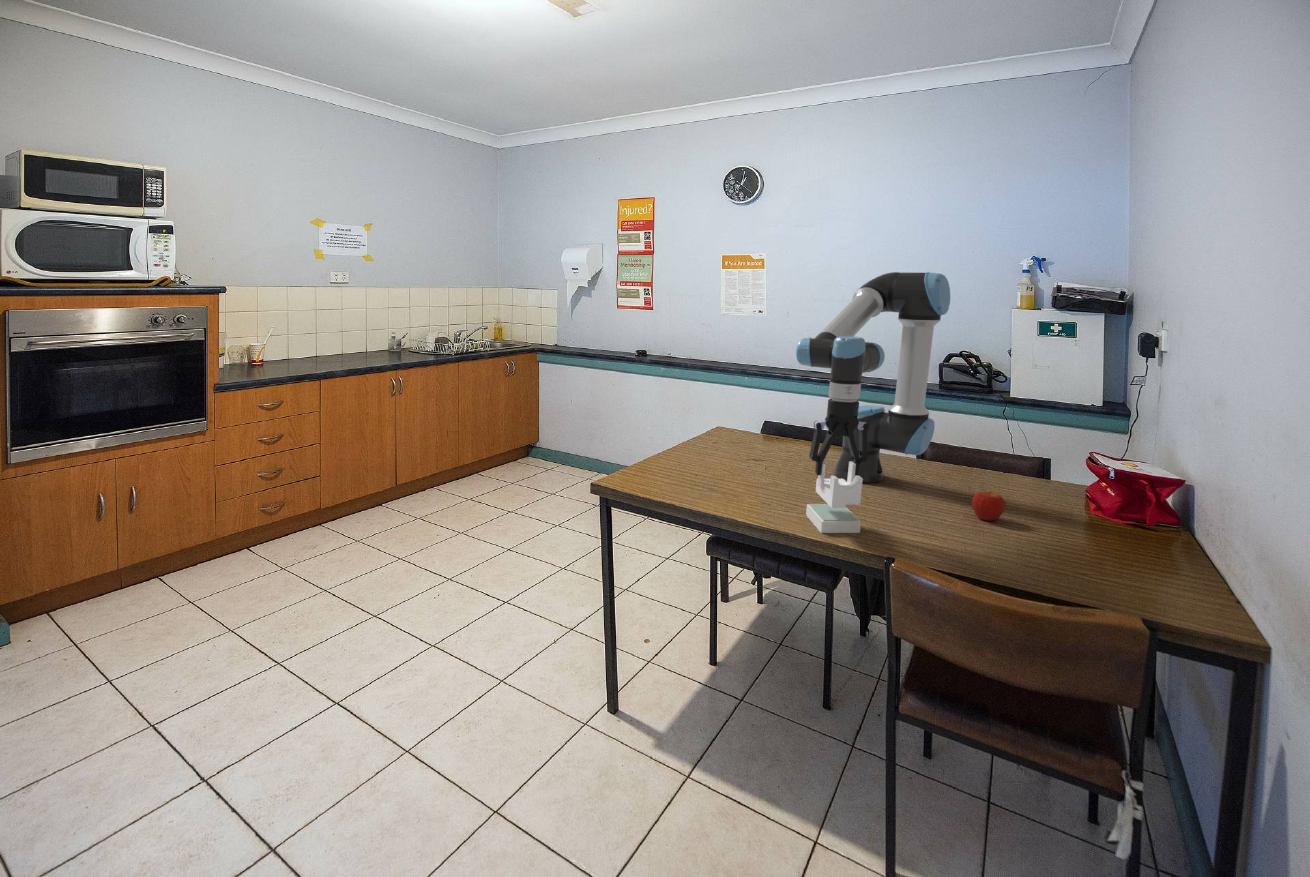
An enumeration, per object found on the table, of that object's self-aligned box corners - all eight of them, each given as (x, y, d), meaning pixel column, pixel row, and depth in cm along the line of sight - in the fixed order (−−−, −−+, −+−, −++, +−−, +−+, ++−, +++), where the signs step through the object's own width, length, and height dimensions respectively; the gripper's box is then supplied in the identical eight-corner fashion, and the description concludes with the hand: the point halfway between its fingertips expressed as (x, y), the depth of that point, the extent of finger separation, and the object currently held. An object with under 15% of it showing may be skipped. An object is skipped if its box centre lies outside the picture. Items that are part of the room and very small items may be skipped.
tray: (842, 514, 179) (843, 503, 178) (859, 532, 166) (861, 520, 165) (806, 514, 178) (807, 503, 177) (821, 532, 165) (822, 520, 164)
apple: (997, 526, 173) (1002, 498, 171) (966, 518, 178) (970, 491, 176) (1005, 518, 179) (1010, 491, 177) (975, 511, 184) (979, 485, 182)
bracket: (859, 507, 162) (862, 478, 160) (831, 507, 162) (834, 478, 160) (841, 491, 175) (844, 464, 173) (815, 491, 174) (818, 463, 172)
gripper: (809, 401, 160) (801, 491, 165) (888, 402, 161) (878, 491, 167) (800, 396, 167) (793, 482, 172) (876, 397, 168) (867, 482, 174)
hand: (835, 486), depth 169 cm, fingers closed on bracket, 7 cm apart
